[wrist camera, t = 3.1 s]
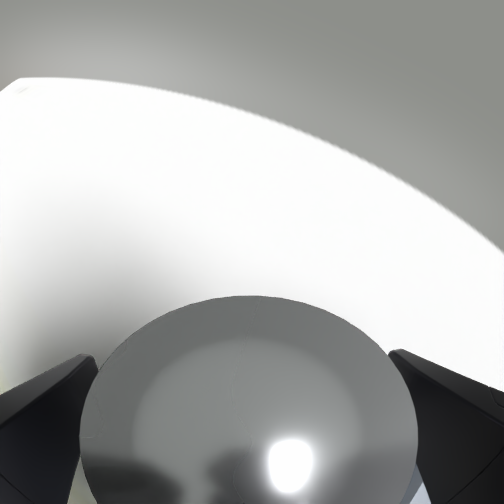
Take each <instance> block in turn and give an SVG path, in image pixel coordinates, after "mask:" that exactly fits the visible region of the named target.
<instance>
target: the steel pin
mask: <svg viewBox="0 0 504 504" xmlns="http://www.w3.org/2000/svg"><path fill="white" fill-rule="evenodd" d="M79 438H80V453H81V460H82V464H83V469H84V473H85V476H86V479H87V482H88V484H89V487H90V489H91V492H92V494H93V496H94V498H95V499H96V501H97V503H98V504H399V503H400V502H401V500H402V498H403V496H404V494H405V492H406V490H407V487H408V485H409V483H410V480H411V477H412V474H413V470H414V466H415V462H416V455H417V448H418V426H417V419H416V413H415V408H414V405H413V402H412V398H411V395H410V392H409V390H408V388H407V386H406V384H405V381H404V379H403V377H402V375H401V374H400V372H399V371H398V369H397V368H396V366H395V365H394V363H393V362H392V360H391V359H390V358H389V356H388V355H387V354H386V353H385V352H384V351H383V350H382V349H381V348H380V347H379V345H378V344H377V343H376V342H374V341H373V340H372V339H371V338H370V337H368V336H367V335H366V334H365V333H364V332H362V331H361V330H360V329H358V328H357V327H355V326H353V325H352V324H350V323H349V322H347V321H346V320H344V319H342V318H340V317H338V316H336V315H334V314H332V313H330V312H328V311H326V310H323V309H320V308H317V307H314V306H311V305H308V304H306V303H302V302H298V301H293V300H288V299H284V298H276V297H266V296H232V297H224V298H215V299H210V300H206V301H202V302H198V303H194V304H190V305H187V306H184V307H182V308H179V309H176V310H174V311H171V312H169V313H167V314H165V315H163V316H161V317H159V318H157V319H155V320H153V321H151V322H149V323H148V324H147V325H145V326H144V327H142V328H141V329H139V330H138V331H136V332H135V333H133V334H132V335H131V336H130V337H129V338H128V339H127V340H125V341H124V342H123V343H122V344H121V345H120V346H119V347H118V348H117V349H116V350H115V351H114V352H113V353H112V355H111V356H110V357H109V358H108V359H107V361H106V362H105V363H104V364H103V366H102V368H101V369H100V371H99V373H98V374H97V376H96V377H95V379H94V381H93V383H92V385H91V388H90V390H89V392H88V395H87V397H86V400H85V404H84V408H83V412H82V416H81V424H80V436H79Z"/></svg>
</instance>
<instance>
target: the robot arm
mask: <svg viewBox="0 0 504 504" xmlns="http://www.w3.org/2000/svg"><path fill="white" fill-rule="evenodd" d="M388 356H389V358H390V359H391V360H392V362H393V363H394V365H395V366H396V368H397V369H398V371H399V372H400V374H401V375H402V377H403V379H404V381H405V384H406V386H407V388H408V390H409V392H410V395H411V398H412V402H413V405H414V408H415V413H416V419H417V426H418V448H417V455H416V465H417V467H418V470H419V472H420V475H421V478H422V480H423V483H424V486H425V488H426V491H427V494H428V496H429V499H430V502H431V504H504V392H502V391H499V390H497V389H494V388H492V387H488V386H487V385H484V384H482V383H480V382H477V381H475V380H472V379H470V378H468V377H465V376H463V375H461V374H458V373H456V372H454V371H451V370H449V369H447V368H444V367H442V366H440V365H437V364H435V363H433V362H431V361H428V360H426V359H424V358H421V357H419V356H417V355H415V354H412V353H410V352H408V351H406V350H404V349H397V350H392V351H390V352H389V354H388ZM98 373H99V371H98V368H97V365H96V363H95V360H94V358H93V357H92V356H90V355H85V354H80V355H78V356H76V357H74V358H72V359H70V360H68V361H66V362H64V363H62V364H60V365H58V366H56V367H54V368H52V369H50V370H48V371H46V372H44V373H43V374H41V375H39V376H37V377H35V378H33V379H31V380H29V381H27V382H25V383H23V384H21V385H19V386H17V387H15V388H13V389H11V390H9V391H7V392H5V393H3V394H1V395H0V504H67V502H68V498H69V494H70V490H71V486H72V482H73V478H74V475H75V471H76V468H77V464H78V461H79V457H80V454H81V453H80V438H79V436H80V424H81V416H82V412H83V408H84V404H85V400H86V397H87V395H88V392H89V390H90V388H91V385H92V383H93V381H94V379H95V377H96V376H97V374H98Z"/></svg>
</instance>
